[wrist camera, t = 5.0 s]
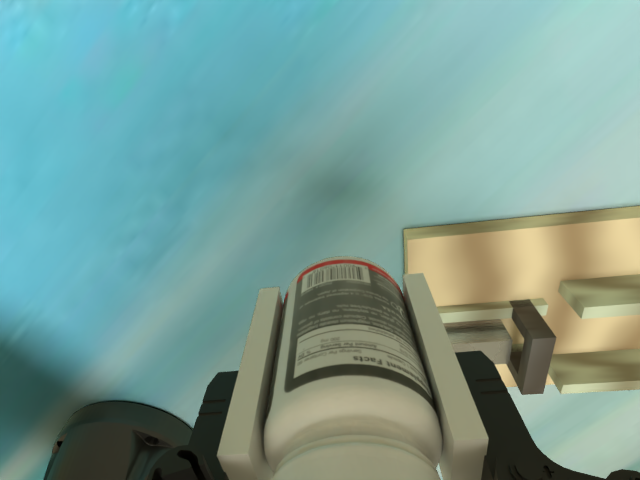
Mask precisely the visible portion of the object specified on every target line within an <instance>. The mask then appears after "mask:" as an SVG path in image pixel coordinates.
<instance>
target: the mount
mask: <svg viewBox="0 0 640 480" xmlns="http://www.w3.org/2000/svg"><path fill="white" fill-rule="evenodd" d="M404 267H405V275H406V274H416V273H423V274H424V276H425V279H426V281H427V284H428V286H429V289H430V291H431V294H432V297H433V299H434V302H435V304H436V307H437V309H438V312H439V314H440V317H441V319H442V322H443V323H453V322H466V321H479V320H492V319H501V321H502V322H503V324H504V326H505V328H506V329H507V331H508V333H509V335H510V336H511V338H512V340H513V341H512V348H511V354H510V360H509V364H495V366H496V368H497V370H498V372H499V374H500V376H501V379H502V381H503V382H504V384H505V386H506V387H515V386H518V388H519V390H520V392H521V394H522V395H526V394H543V392H544V388H545V385H549V384H555V385H556V387H557V389H558V390H559V392H560V393H561V394H567V393H584V392H601V391H619V390H636V389H640V206H633V207H623V208H613V209H603V210H592V211H582V212H572V213H562V214H552V215H542V216H532V217H522V218H512V219H502V220H492V221H482V222H472V223H461V224H451V225H441V226H431V227H421V228H411V229H404Z"/></svg>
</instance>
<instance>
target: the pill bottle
mask: <svg viewBox="0 0 640 480" xmlns="http://www.w3.org/2000/svg"><path fill="white" fill-rule="evenodd" d="M442 442H443V439H442V432H441V427H440V423H439V419H438V415H437V412H436V408H435V405H434V402H433V398H432V395H431V391H430V388H429V385H428V381H427V378H426V374H425V371H424V368H423V364H422V360H421V357H420V354H419V351H418V347H417V344H416V341H415V337H414V334H413V330H412V327H411V324H410V320H409V316H408V313H407V309H406V305H405V301H404V297H403V295H402V292H401V290H400V288H399V286H398V284H397V283H396V281H395V280H394V279H393V277H392V276H391V275H390V274H389V273H388V272H387V271H386V270H385V269H383V268H382V267H380V266H379V265H377V264H375V263H373V262H371V261H369V260H366V259H363V258H358V257H352V256H338V257H331V258H327V259H323V260H320V261H318V262H316V263H313V264H312V265H310V266H308V267H307V268H305V269H304V270H303V271H301V272H300V273H299V274H298V275H297V276H296V277H295V278H294V279H293V281H292V282H291V284H290V286H289V288H288V290H287V292H286V295H285V300H284V304H283V312H282V318H281V324H280V331H279V337H278V344H277V350H276V357H275V363H274V369H273V375H272V382H271V388H270V395H269V401H268V406H267V413H266V418H265V426H264V451H265V455H266V459H267V461H268V464H269V466H270V468H271V469H272V471H273V473H274V474H273V477H272V479H271V480H441V479H440V477H439V475H438V472H437V470H436V467H437V465H438V463H439V460H440V457H441V453H442Z"/></svg>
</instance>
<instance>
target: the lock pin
mask: <svg viewBox="0 0 640 480" xmlns="http://www.w3.org/2000/svg"><path fill="white" fill-rule="evenodd" d="M443 324H444V327H445V329H446V332H447V334H448V337H449V340H450V342H451V345H452V347H453V350H454V352H467V351H480V350H481V351H482V352H483V353H484V354H485V355H486V356H487V357H488V358H489V359H490V360H491V361H492V362H494V364H509V360H510V354H511V348H512V341H513V340H512V338H511V336H510V335H509V333H508V331H507V329H506V328H505V326H504V324H503V322H502V321H501V319H492V320H479V321H466V322H453V323H443Z"/></svg>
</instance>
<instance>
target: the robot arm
mask: <svg viewBox="0 0 640 480" xmlns="http://www.w3.org/2000/svg"><path fill="white" fill-rule="evenodd" d="M403 297H404V301H405V305H406V309H407V313H408V316H409V320H410V324H411V327H412V330H413V334H414V337H415V341H416V344H417V347H418V351H419V354H420V357H421V360H422V364H423V368H424V371H425V374H426V378H427V381H428V385H429V388H430V391H431V395H432V398H433V402H434V405H435V408H436V412H437V415H438V419H439V423H440V427H441V432H442V439H443V442H442V453H441V457H440V460H439V466H440V469H441V473H442V477H443V480H640V473H639V472H637V471H631V470H623V469H621V470H618V471H614V472H611V473H610V475H609V476H608V477H607V478H606V479H603V478H599V477H595V476H591V475H588V474H584V473H580V472H576V471H572V470H570V469H567V468H564V467H562V466H560V465H558V464H556V463H555V462H553V461H552V460H550V459H549V458H548V457H547V456H546V455H544V454H543V453H542V452H541V451H540V450H539V449H538V448H537V446H536V444H535V443H534V441H533V440H532V438H531V436H530V434H529V432H528V430H527V428H526V426H525V424H524V422H523V420H522V418H521V416H520V414H519V412H518V410H517V408H516V406H515V404H514V402H513V400H512V398H511V396H510V394H509V393H508V390H507V388H506V386H505V384H504V382H503V381H502V379H501V376H500V374H499V372H498V370H497V368H496V366H495V364H494V362H492V361H491V360H490V359H489V358H488V357H487V356H486V355H485V354H484V353H483V352H482V351H481V350H480V351H467V352H454V350H453V347H452V345H451V342H450V340H449V337H448V334H447V332H446V329H445V327H444V324H443V322H442V319H441V317H440V314H439V312H438V309H437V307H436V304H435V302H434V299H433V297H432V294H431V291H430V289H429V286H428V284H427V281H426V279H425V276H424V274H423V273H416V274H406V275H403ZM282 312H283V301H282V297H281V293H280V288H279V287H272V288H262V289H260V291H259V295H258V299H257V302H256V306H255V310H254V314H253V318H252V322H251V325H250V329H249V333H248V337H247V341H246V345H245V349H244V352H243V356H242V360H241V364H240V368H239V371H230V372H218V373H217V375H216V376H215V377H214V379H213V380H212V381H211V382H210V384H209V385H208V387H207V390H206V393H205V396H204V399H203V404H202V405H201V408H200V411H199V416H198V417H197V419H196V422H195V425H194V428H193V431H192V430H191V429H190V428H189V427H188V426H187V425H185V424H184V423H183V422H181V421H180V420H178V419H177V418H175V417H173V416H171V415H169V414H167V413H165V412H163V411H160V410H157V409H155V408H152V407H148V406H144V405H140V404H135V403H128V402H103V403H97V404H93V405H89V406H86V407H84V408H82V409H80V410H78V411H77V412H75V413H74V414H73V415H72V416H71V417H70V419H69V420H68V422H67V423H66V425H65V426H64V428H63V429H62V431H61V432H60V434H59V435H58V437H57V439H56V441H55V444H54V447H53V451H52V456H51V459H50V461H49V464H48V467H47V470H46V473H45V477H44V480H271V479H272V477H273V474H274V473H273V471H272V469H271V468H270V466H269V464H268V461H267V459H266V455H265V451H264V426H265V418H266V413H267V406H268V401H269V395H270V388H271V382H272V375H273V369H274V363H275V357H276V350H277V344H278V337H279V331H280V324H281V318H282Z"/></svg>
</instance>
